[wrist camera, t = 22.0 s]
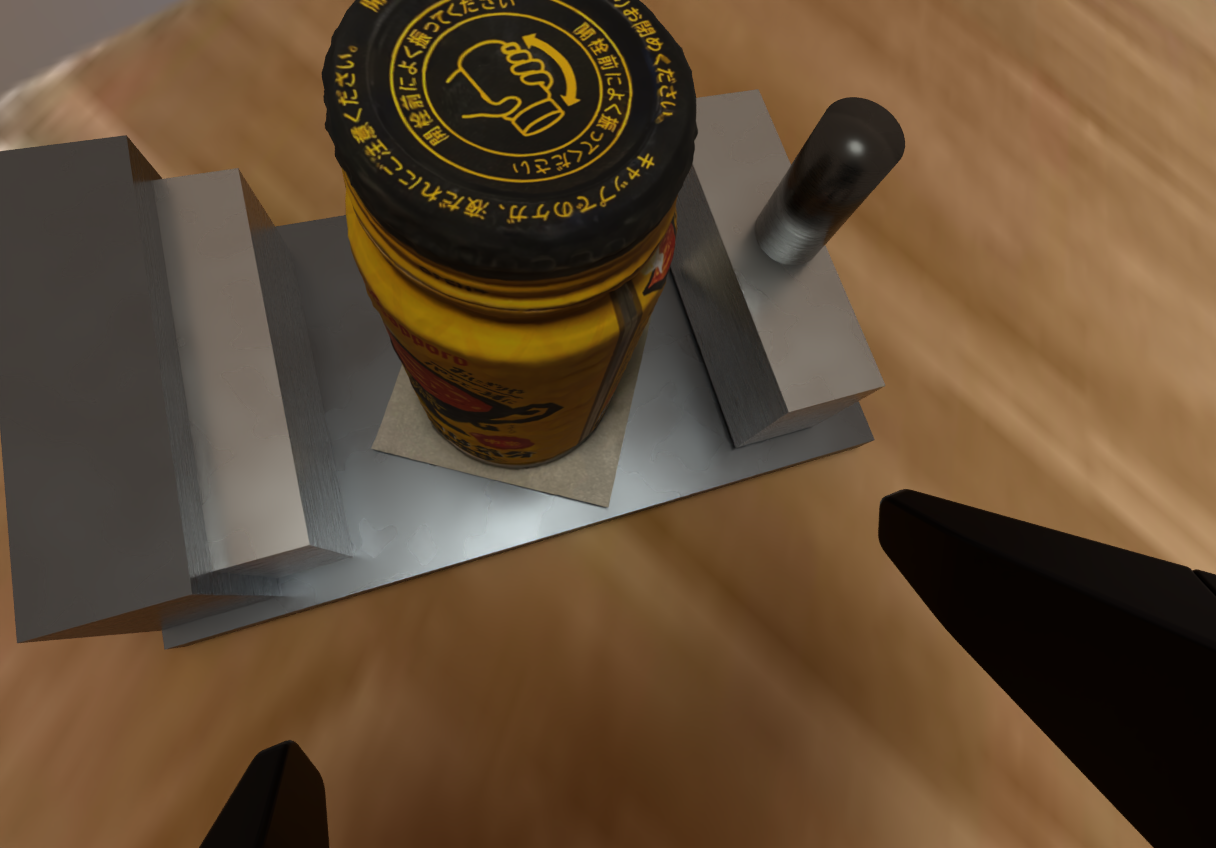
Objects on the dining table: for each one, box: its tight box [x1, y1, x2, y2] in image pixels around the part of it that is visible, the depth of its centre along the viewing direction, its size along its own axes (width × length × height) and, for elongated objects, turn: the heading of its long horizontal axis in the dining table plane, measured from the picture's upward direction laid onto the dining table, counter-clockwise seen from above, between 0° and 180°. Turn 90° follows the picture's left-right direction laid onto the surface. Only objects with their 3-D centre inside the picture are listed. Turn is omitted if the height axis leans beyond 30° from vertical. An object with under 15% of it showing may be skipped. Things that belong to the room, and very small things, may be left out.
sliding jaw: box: [670, 90, 905, 448], centre depth 17 cm, size 3×10×8 cm, turn 17°
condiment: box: [322, 0, 698, 507], centre depth 14 cm, size 7×8×12 cm
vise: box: [0, 135, 874, 649], centre depth 18 cm, size 22×12×6 cm, turn 107°
